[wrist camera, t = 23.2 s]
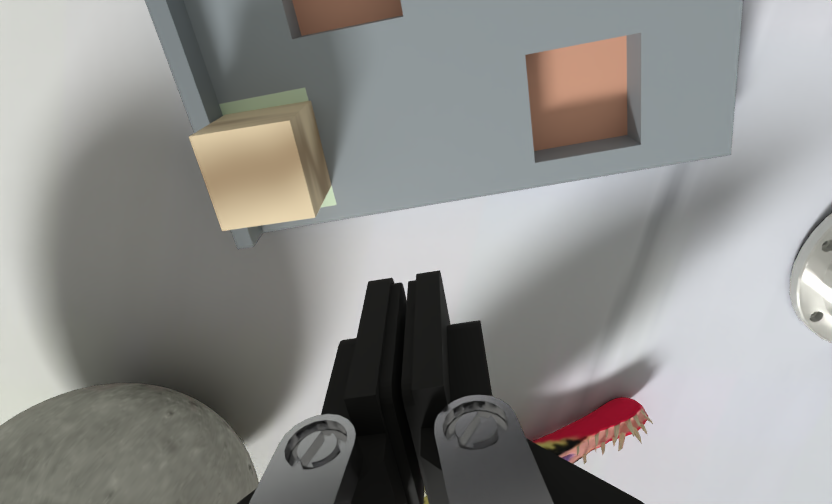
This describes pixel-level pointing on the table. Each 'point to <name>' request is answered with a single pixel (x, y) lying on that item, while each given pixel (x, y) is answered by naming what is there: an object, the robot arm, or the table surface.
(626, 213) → the table surface
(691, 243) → the table surface
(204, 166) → the beech cube
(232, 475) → the decorative sphere
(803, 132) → the table surface
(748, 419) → the table surface
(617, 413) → the toy
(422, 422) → the robot arm
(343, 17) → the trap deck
